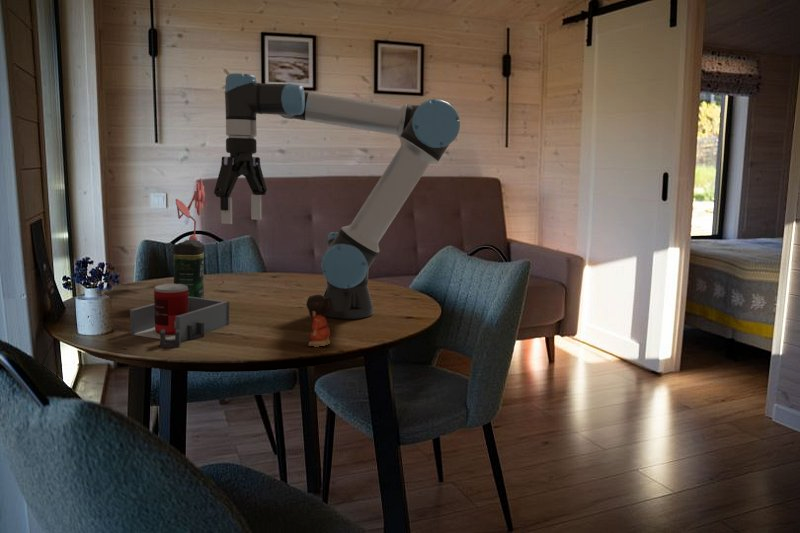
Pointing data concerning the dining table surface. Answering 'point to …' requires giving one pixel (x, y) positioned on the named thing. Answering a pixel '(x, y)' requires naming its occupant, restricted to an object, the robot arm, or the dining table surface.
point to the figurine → (319, 319)
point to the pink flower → (199, 201)
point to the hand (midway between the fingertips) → (242, 221)
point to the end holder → (182, 318)
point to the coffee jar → (190, 266)
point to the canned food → (169, 306)
